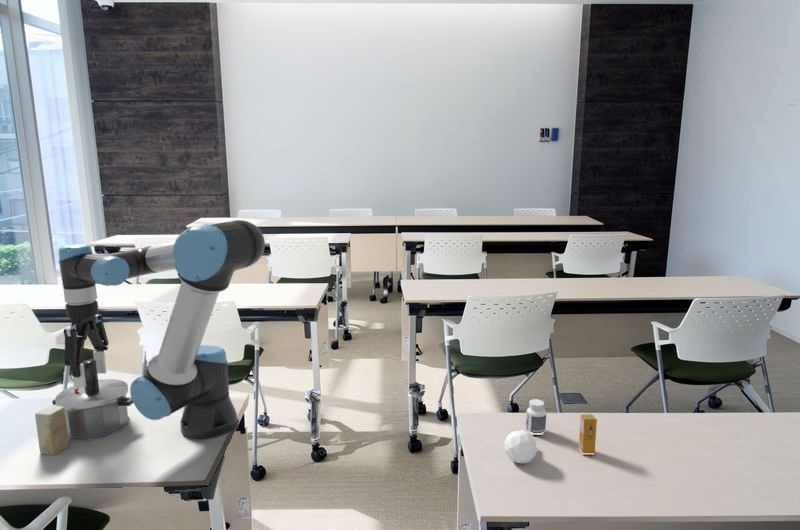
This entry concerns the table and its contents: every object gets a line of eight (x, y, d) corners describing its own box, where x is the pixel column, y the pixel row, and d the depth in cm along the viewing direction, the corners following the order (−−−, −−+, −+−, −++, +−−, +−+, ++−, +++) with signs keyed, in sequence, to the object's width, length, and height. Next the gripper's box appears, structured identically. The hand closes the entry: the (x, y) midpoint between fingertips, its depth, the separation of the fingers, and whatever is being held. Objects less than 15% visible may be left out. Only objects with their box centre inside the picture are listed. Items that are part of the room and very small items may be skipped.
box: (53, 455, 134) (47, 415, 132) (39, 453, 135) (33, 414, 133) (70, 444, 139) (64, 406, 137) (56, 443, 140) (50, 404, 138)
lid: (139, 383, 156) (136, 350, 154) (106, 411, 138) (101, 375, 136) (81, 382, 156) (77, 350, 154) (40, 410, 139) (35, 374, 137)
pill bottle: (549, 433, 146) (551, 403, 144) (536, 438, 143) (538, 408, 141) (534, 425, 150) (536, 396, 148) (521, 430, 147) (523, 401, 145)
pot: (148, 412, 157) (145, 384, 155) (119, 440, 141) (115, 409, 139) (76, 411, 157) (72, 383, 155) (39, 439, 141) (34, 408, 140)
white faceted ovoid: (495, 451, 130) (503, 434, 141) (521, 476, 128) (527, 456, 139) (515, 430, 128) (522, 414, 139) (542, 454, 126) (546, 436, 137)
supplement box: (590, 448, 138) (593, 413, 136) (594, 455, 135) (597, 420, 133) (577, 448, 138) (580, 413, 136) (581, 455, 135) (584, 419, 133)
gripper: (91, 291, 152) (100, 364, 157) (40, 313, 131) (51, 396, 136) (117, 291, 152) (125, 364, 157) (69, 313, 131) (80, 397, 136)
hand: (91, 379), depth 146 cm, fingers open, 9 cm apart
